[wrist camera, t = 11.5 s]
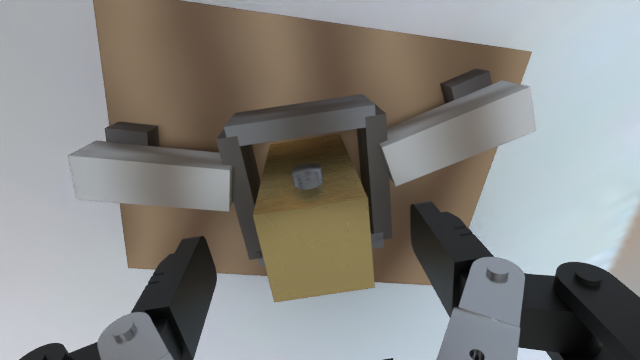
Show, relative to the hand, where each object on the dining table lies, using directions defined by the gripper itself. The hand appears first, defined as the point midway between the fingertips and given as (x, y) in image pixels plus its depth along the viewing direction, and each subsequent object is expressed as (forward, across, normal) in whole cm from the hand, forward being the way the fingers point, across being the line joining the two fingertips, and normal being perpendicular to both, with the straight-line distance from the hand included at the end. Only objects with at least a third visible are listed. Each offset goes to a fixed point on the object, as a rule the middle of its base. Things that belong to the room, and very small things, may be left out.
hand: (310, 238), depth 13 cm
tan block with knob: (+7, 0, 0) cm, 7 cm away
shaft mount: (+9, 0, 0) cm, 9 cm away
